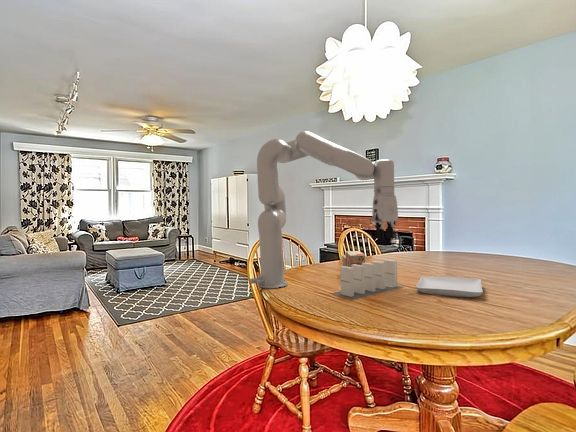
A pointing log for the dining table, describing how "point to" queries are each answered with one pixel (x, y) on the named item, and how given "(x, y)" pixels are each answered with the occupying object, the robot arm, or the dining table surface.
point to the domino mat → (368, 292)
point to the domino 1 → (347, 281)
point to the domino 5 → (390, 273)
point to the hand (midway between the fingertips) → (385, 238)
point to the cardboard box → (353, 258)
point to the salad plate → (450, 286)
